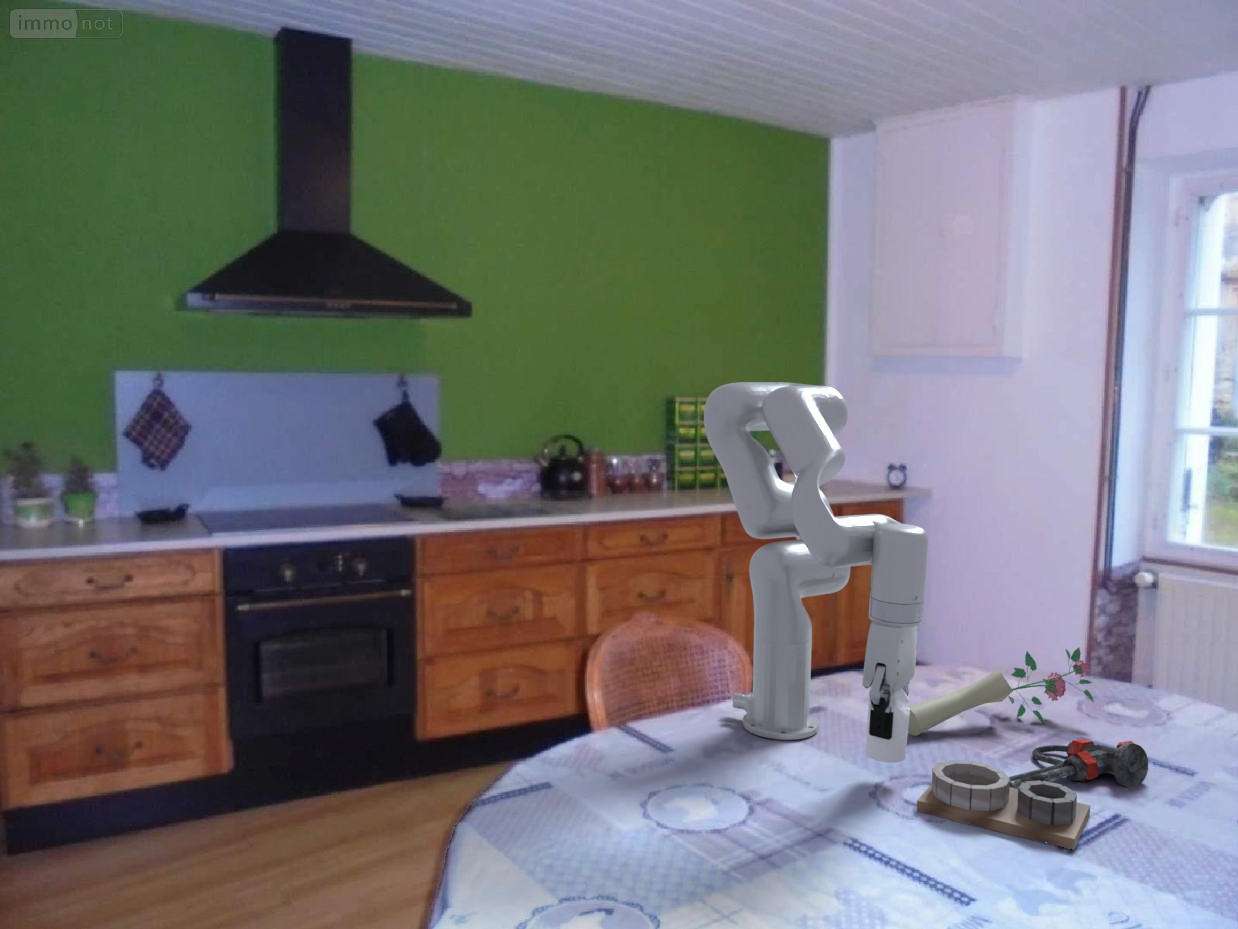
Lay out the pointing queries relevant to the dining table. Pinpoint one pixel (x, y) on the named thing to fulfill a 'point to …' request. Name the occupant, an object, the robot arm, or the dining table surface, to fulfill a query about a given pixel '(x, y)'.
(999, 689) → the flower vase
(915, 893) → the dining table surface
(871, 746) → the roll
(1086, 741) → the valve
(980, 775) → the fitting board
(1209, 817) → the dining table surface
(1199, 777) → the dining table surface
